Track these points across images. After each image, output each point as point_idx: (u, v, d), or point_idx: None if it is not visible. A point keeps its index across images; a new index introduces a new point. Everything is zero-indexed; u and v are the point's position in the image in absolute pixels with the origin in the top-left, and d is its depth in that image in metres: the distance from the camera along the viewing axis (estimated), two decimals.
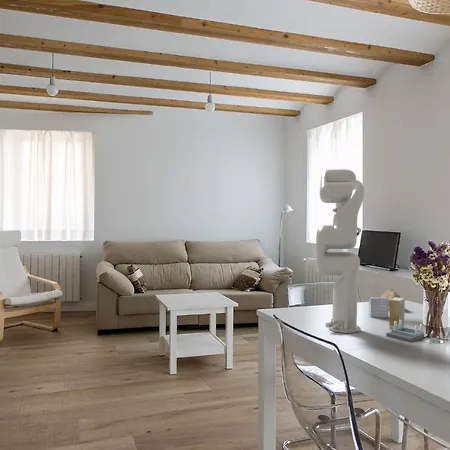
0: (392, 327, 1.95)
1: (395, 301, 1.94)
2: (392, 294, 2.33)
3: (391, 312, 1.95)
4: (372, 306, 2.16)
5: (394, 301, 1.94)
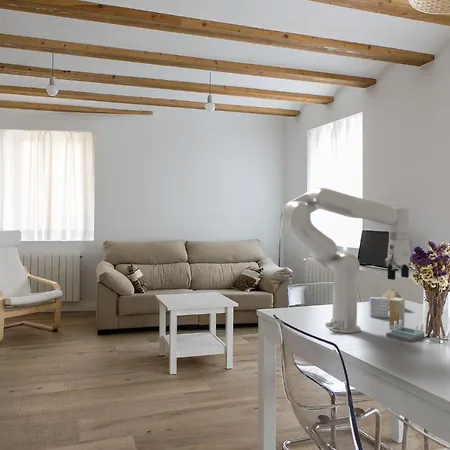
0: (392, 327, 1.95)
1: (395, 301, 1.94)
2: (393, 294, 2.33)
3: (391, 312, 1.95)
4: (372, 306, 2.16)
5: (394, 301, 1.94)
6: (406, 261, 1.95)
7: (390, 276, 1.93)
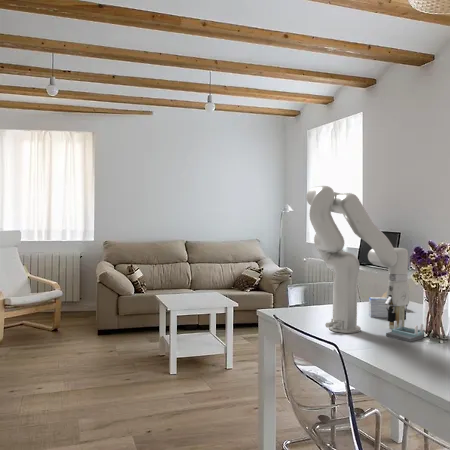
0: (392, 327, 1.95)
1: None
2: None
3: None
4: (372, 306, 2.16)
5: None
6: (405, 302, 1.95)
7: (390, 319, 1.94)
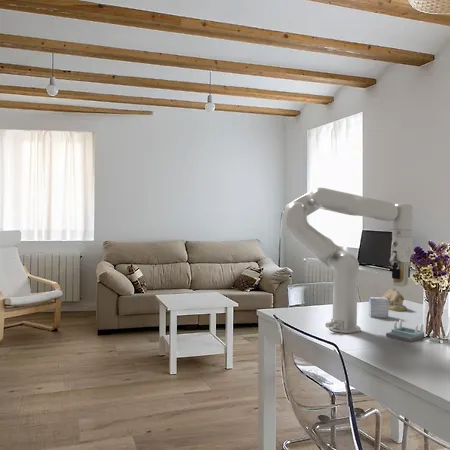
0: (396, 284, 1.91)
1: None
2: (395, 294, 2.34)
3: None
4: (372, 306, 2.16)
5: None
6: (409, 259, 1.91)
7: (395, 275, 1.89)
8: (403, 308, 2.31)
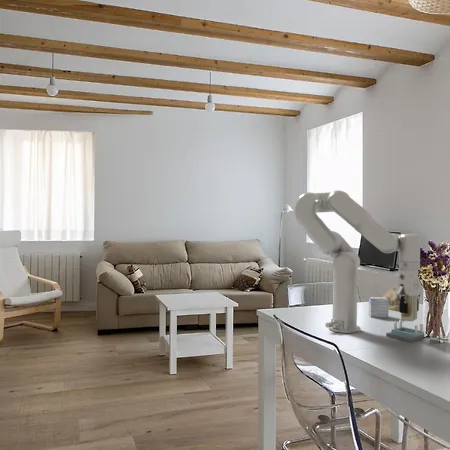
0: (404, 319, 1.82)
1: None
2: (395, 294, 2.34)
3: None
4: (372, 306, 2.16)
5: None
6: (418, 292, 1.82)
7: (402, 310, 1.81)
8: None
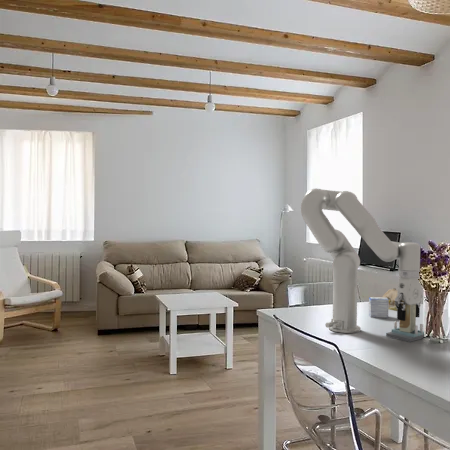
0: (402, 330, 1.82)
1: None
2: (396, 293, 2.35)
3: None
4: (372, 306, 2.16)
5: None
6: (417, 300, 1.83)
7: (400, 317, 1.80)
8: None
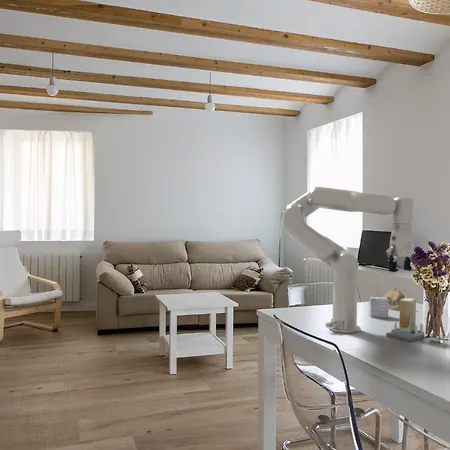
0: (402, 330, 1.82)
1: (406, 302, 1.81)
2: (397, 293, 2.35)
3: (401, 313, 1.82)
4: (372, 306, 2.16)
5: (404, 302, 1.81)
6: (409, 253, 1.88)
7: (391, 268, 1.87)
8: None
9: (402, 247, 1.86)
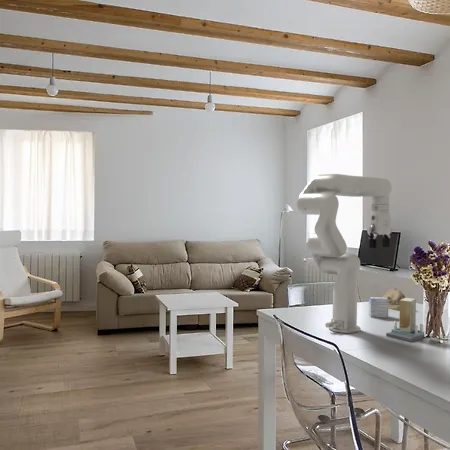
0: (402, 330, 1.82)
1: (406, 302, 1.81)
2: (397, 293, 2.36)
3: (401, 313, 1.82)
4: (372, 306, 2.16)
5: (404, 302, 1.81)
6: (387, 231, 2.08)
7: (371, 245, 2.06)
8: None
9: (381, 225, 2.06)
